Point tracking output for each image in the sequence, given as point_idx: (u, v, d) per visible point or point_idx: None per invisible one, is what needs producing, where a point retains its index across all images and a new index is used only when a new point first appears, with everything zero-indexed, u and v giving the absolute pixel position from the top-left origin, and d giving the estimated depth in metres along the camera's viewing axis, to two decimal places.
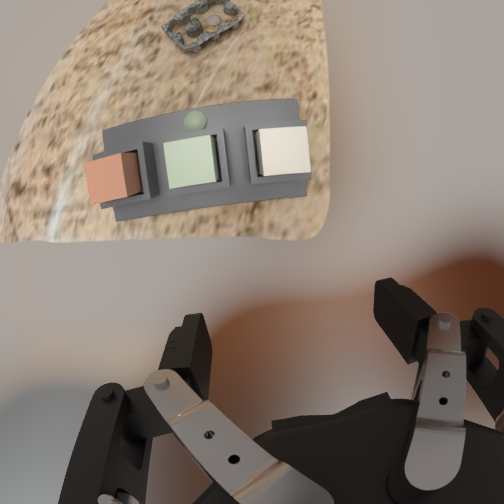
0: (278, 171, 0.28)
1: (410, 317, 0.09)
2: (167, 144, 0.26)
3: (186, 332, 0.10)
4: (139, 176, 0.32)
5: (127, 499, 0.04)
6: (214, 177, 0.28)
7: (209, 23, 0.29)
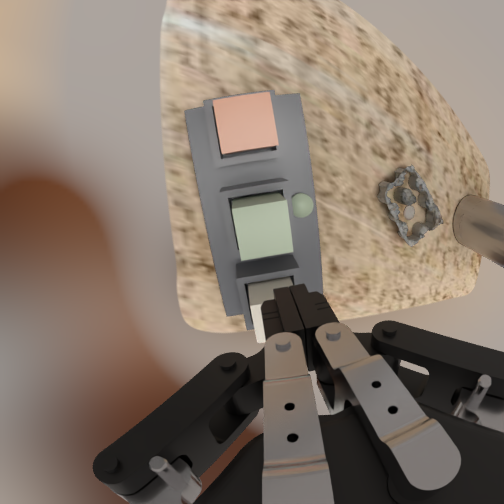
0: (255, 318, 0.28)
1: (303, 324, 0.10)
2: (284, 205, 0.25)
3: (283, 302, 0.11)
4: (242, 151, 0.27)
5: (182, 468, 0.05)
6: (246, 258, 0.26)
7: (406, 209, 0.36)
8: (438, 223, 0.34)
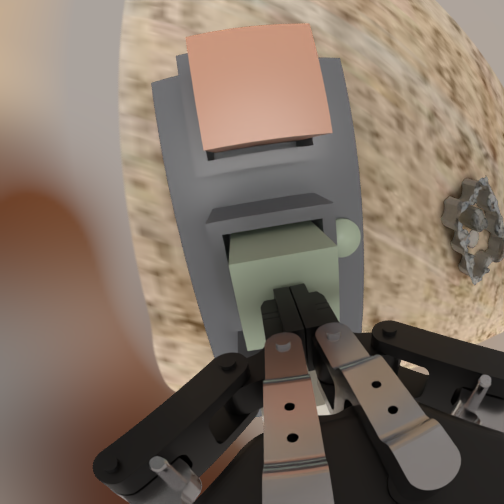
0: None
1: (303, 324, 0.10)
2: (333, 256, 0.12)
3: (283, 302, 0.11)
4: (249, 146, 0.14)
5: (183, 468, 0.05)
6: (256, 347, 0.14)
7: (471, 234, 0.23)
8: None
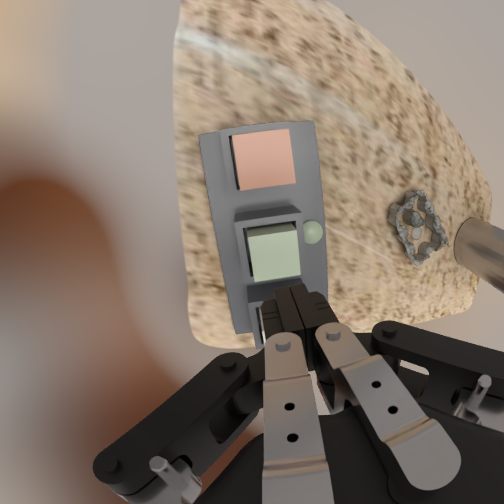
0: None
1: (303, 324, 0.10)
2: (294, 234, 0.28)
3: (283, 302, 0.11)
4: None
5: (182, 468, 0.05)
6: (258, 280, 0.29)
7: (414, 229, 0.37)
8: (443, 244, 0.35)
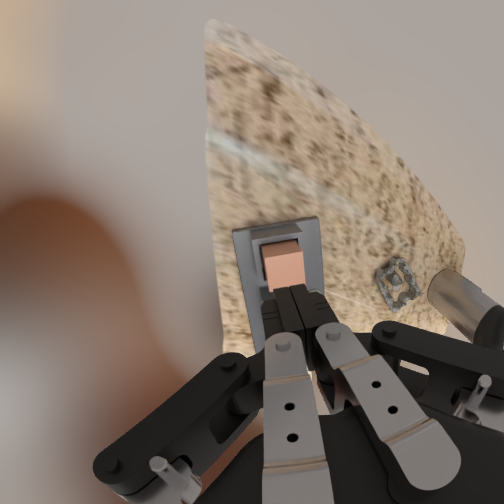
0: None
1: (303, 324, 0.10)
2: None
3: (283, 302, 0.11)
4: None
5: (183, 468, 0.05)
6: None
7: None
8: (417, 295, 0.48)
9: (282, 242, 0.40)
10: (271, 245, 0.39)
